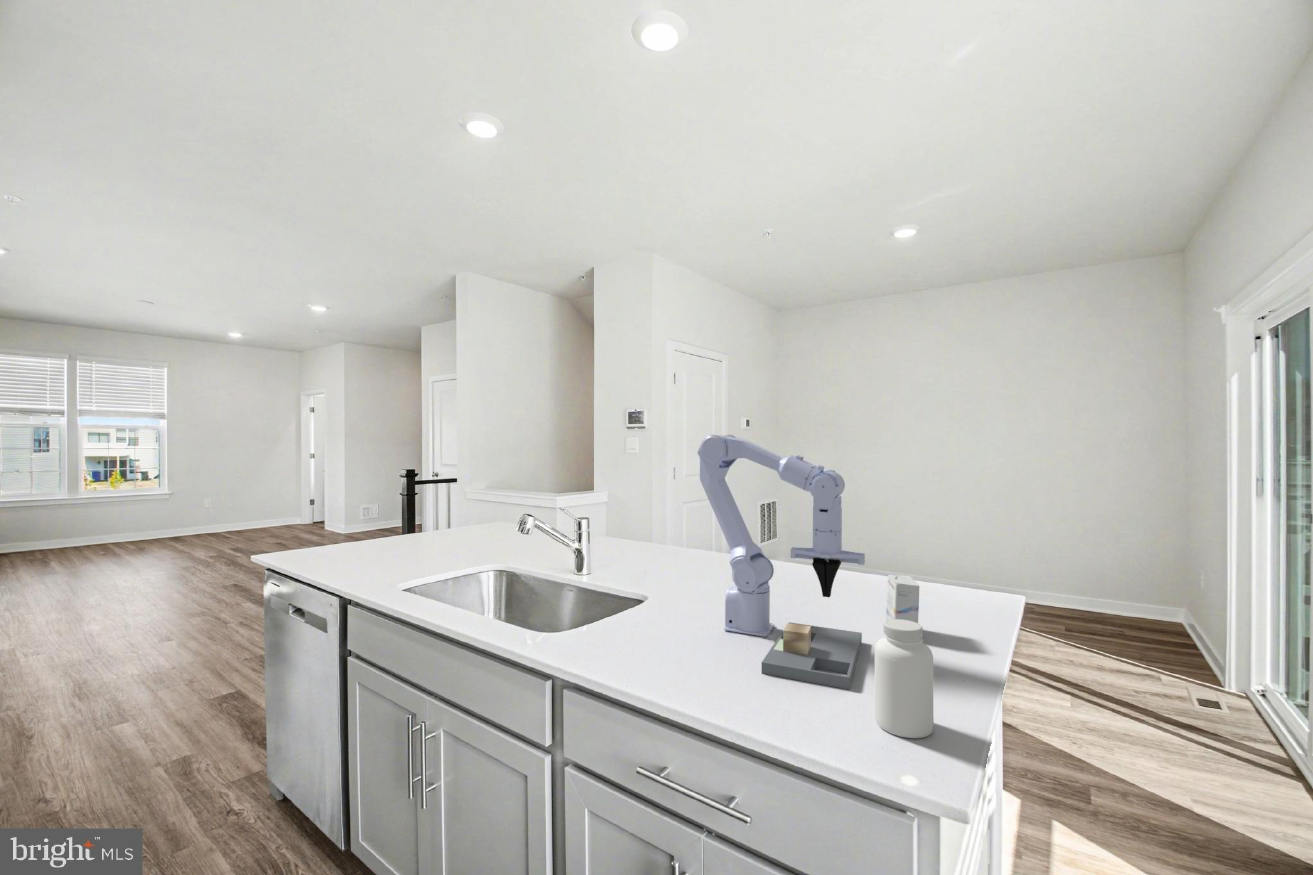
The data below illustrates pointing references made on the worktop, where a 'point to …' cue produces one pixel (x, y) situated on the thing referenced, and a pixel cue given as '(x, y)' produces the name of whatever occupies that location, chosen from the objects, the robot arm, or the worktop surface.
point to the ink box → (902, 598)
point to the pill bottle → (904, 680)
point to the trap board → (817, 658)
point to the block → (797, 638)
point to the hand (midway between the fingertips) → (826, 595)
